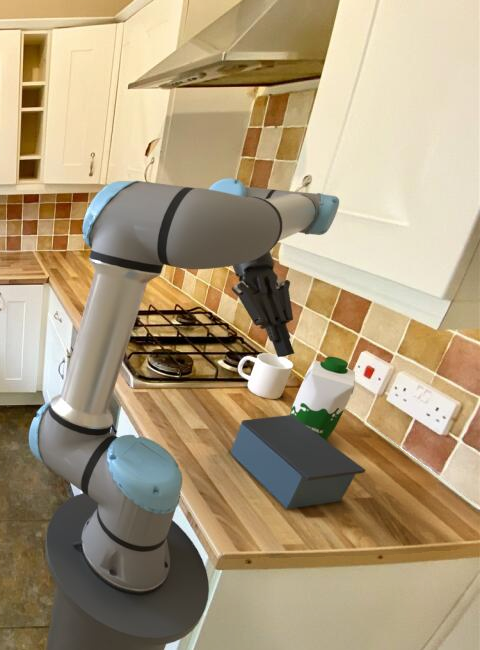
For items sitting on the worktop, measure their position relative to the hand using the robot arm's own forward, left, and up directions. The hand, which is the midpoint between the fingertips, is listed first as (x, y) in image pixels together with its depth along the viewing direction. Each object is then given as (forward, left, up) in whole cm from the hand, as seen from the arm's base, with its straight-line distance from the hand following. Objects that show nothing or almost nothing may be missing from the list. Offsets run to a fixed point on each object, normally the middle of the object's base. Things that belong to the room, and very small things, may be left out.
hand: (286, 355), depth 87 cm
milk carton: (+17, +2, -25) cm, 31 cm away
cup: (+20, +21, -25) cm, 39 cm away
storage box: (0, -9, -25) cm, 27 cm away
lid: (0, -9, -17) cm, 19 cm away
